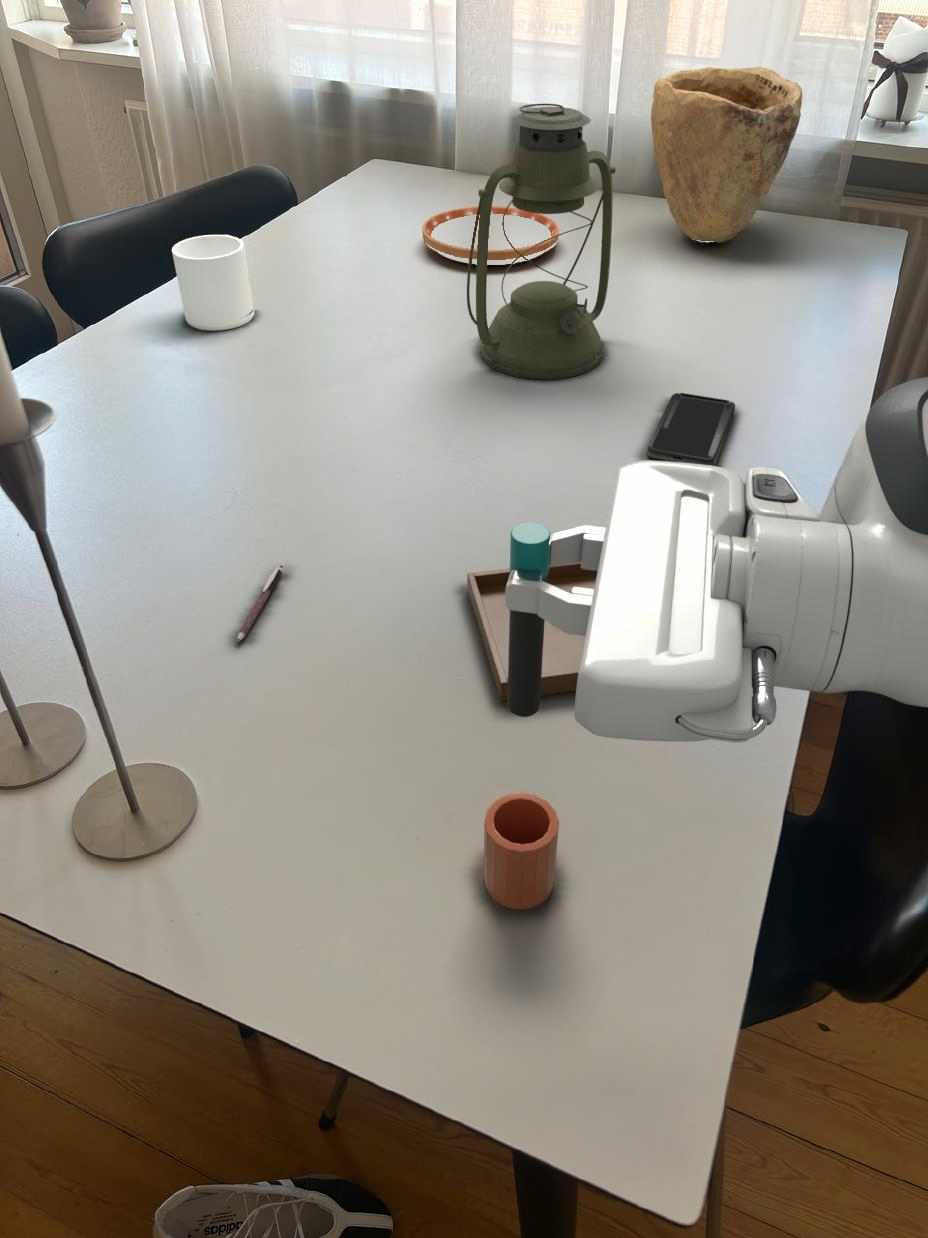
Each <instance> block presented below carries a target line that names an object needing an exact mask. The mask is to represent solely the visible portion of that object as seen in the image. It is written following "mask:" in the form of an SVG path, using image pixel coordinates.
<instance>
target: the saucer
mask: <svg viewBox="0 0 928 1238" xmlns="http://www.w3.org/2000/svg"><path fill="white" fill-rule="evenodd" d="M506 208H507V206H493V205H492V207H491V213H493V214H504V212H505V210H506ZM477 211H478V206H469V207H461V208H455V209H451V210H447V211H443V212H439V213H437V214H435V215H433V216H431V217H430V218H428V219H427V220H425V222H424V223H423V224H422V229H421V233H422V240H423V239H424V241H425V242H426V243H427V244H428V245H429V246H431V247H432V248H434V249H436V250H438V251H440V252H443V253H445V254H449V255H453V256H455V257H460V258H468V259H469V258H470V251H471V249H469V248H462V247H457V246H452V245H448V244H445V243H442V242H440V241H437V240H435V239H434V238H432V237H431V233H432V231H433V230H434V228H435V227H437V226H438V225H439V224H441V223H444V222H446V221H448V220H451V219H455V218H459V217H464V216H470V215H474V214H476V215H477ZM505 214H506V215H514V216H520V217H524V218H529V219H533V220H535V221H537V222H539V223H541V224H543V225H545V226H546V227H547V228H548V229H549V230H550V232H551V236H552V237H554V236H556V235H559V234H560V228H559V225H558V224H557V223H556V221H554V220H553V219H552V218H550V217H549V216H546V215H545V214H538V213H531V212H526V211H522V210H520V209H518V208H516V207H510V206H509V207H508V209H507V211H506V213H505ZM557 240H558V241H559V237H558V236H557V237H554V238H552V239H550V240H547V241H545V242H543V243H541V244H539V245H537V246H535V245H536V244H535V245H532V246H527V247H522V248H516V250H517V251H518V252H519V253H520V254H522V253H524V252H525V251H527V250H528V249H530V248H531V247H533V246H535V247H534V248H532V249H530V250H529V251H527V252H526V253H524V254H523V255H522V256H528V255H531V254H534V253H537V252H540V251H543V250H546V249H547V248H549V247H550V246H552V245H553V244H554V243H556V241H557ZM424 241H423V242H424ZM519 256H520V255H519V254H518V253H517V252H516V251H515V250H514V249H505V250H488V257H487V260H506V259H513V258H517V257H519ZM519 258H520V257H519ZM472 259H477V249H473V256H472Z"/></svg>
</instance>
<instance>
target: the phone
mask: <svg viewBox="0 0 928 1238" xmlns="http://www.w3.org/2000/svg"><path fill="white" fill-rule="evenodd" d="M735 409H736V403H735V402H734V401H732V400H728V399H722V398H715V397H710V396H703V395H698V394H691V393H684V392H676V393H673V394H672V395H671V396H670V398H669V400H668V403H667V405H666V406H665V409H664V411H663V413H662V415H661V416H660V419H659V421H658V423H657V425H656V427H655V429H654V432H653V433H652V436H651V437H650V439H649V441H648V442H647V443H648V444H647V450H646V455H647V456H648V457H649V458H650V459H653V460H657V461H669V462H681V463H692V464H702V465H711V466H716V463H717V460H718V457H719V455H720V452H721V449H722V447H723V444H724V442H725V438H726V436H727V433H728V431H729V428H730V425H731V423H732V420H733V417H734V414H735Z"/></svg>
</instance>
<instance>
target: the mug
mask: <svg viewBox="0 0 928 1238" xmlns="http://www.w3.org/2000/svg"><path fill="white" fill-rule="evenodd" d="M171 253H172V259H173V264H174V268H175V273H176V279H177V283H178V288H179V293H180V299H181V303H182V309H183V313H184V319H185V321H186V323H187V324H188V325H189V326H191V327H192V328H195V329H198V330H202V331H210V332H211V331H215V332H217V331H226V330H232V329H236V328H239V327H242V326H244V325H246V324H248V323H249V322H250V321H251V320H252V319H253V318H254V316H255V309H254V310H253V312H252V313H251V314H250V315H248V316H247V317H245V316H246V315H247V314H249V313H250V312H251V310H252V309H253V306H254V301H253V293H252V287H251V280H250V273H249V269H248V262H247V256H246V248H245V242H244V241H243V240H242V239H240V238H239V237H237V236H232V235H229V234H207V235H198V236H193V237H188V238H185V239H183V240H181V241H178V242H177V243H175V244H174V245H173V246H172V248H171ZM243 317H245V318H243ZM241 318H243V319H241ZM238 319H241V320H238ZM236 320H238V321H236ZM233 321H235V322H233ZM229 322H231V323H229Z"/></svg>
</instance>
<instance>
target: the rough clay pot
mask: <svg viewBox="0 0 928 1238" xmlns="http://www.w3.org/2000/svg"><path fill="white" fill-rule="evenodd" d="M652 98H653V100H652V104H651V109H650V110H651V111H650V122H651V132H652V133H651V134H652V142H653V151H654V154H655V160H656V164H657V168H658V172H659V175H660V177H661V184H662V190H663V191H662V192H663V195H664V197H665V200H666V202H667V205H668V209H669V213H670V214H671V217H672V218H673V220H674V222H675V223H676V225H677V226H678V227H679V228H680V229H681V230H682V232H683V233H684V235H686V236H687V237H688V236H689V237H690V238H691V239H690V238H689V237H688V238H689V239H690V240H692V239H694V240H700V241H714V242H717V244H722V243H724V242H726V241H725V240H727V241H730V240H732V239H734V237H735V236H736V235H737V234H739V233H741V232H742V231H743V230H744V229H745V228H746V227H747V225H748V224H750V223H751V221H752V219H753V217H754V215H755V214H756V213H757V211H758V209H759V208H760V206H761V204H762V203H763V201H764V199H765V198H766V197H767V195H768V194H769V191H770V188H771V187H772V185H773V183H774V181H775V179H776V177H777V175H778V174H779V172H780V171H781V169H782V167H783V165H784V163H785V161H786V158H787V157H788V153H789V151H790V147H791V144H792V142H793V140H794V138H795V136H796V132H797V130H798V127H799V124H800V120H801V116H802V115H801V112H802V111H801V109H802V104H803V102H802V101H803V88H802V87H801V85H799V83H798V82H794V81H792V80H790V79H787V78H784V77H783V76H781V75H780V74H778V73H776V72H775V71H774V70H772V69H770V68H769V69H768V68H765V67H761V66H754V67H743V68H742V67H741V68H720V67H713V66H706V67H702V68H695V69H687V70H679V71H675V72H673V73H671V74H670V75H668V76H666V77H661V78H658V79H657V81H656V82H655V84H654V88H653V96H652ZM694 240H693V241H694ZM698 243H699V244H701V243H702V244H704V243H703V242H698Z"/></svg>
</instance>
